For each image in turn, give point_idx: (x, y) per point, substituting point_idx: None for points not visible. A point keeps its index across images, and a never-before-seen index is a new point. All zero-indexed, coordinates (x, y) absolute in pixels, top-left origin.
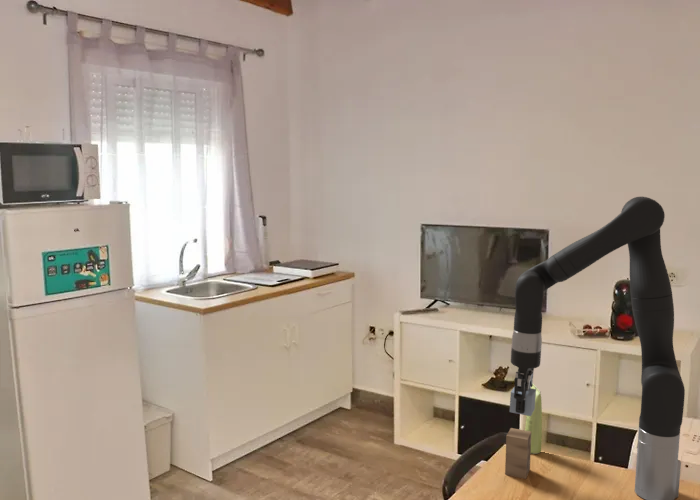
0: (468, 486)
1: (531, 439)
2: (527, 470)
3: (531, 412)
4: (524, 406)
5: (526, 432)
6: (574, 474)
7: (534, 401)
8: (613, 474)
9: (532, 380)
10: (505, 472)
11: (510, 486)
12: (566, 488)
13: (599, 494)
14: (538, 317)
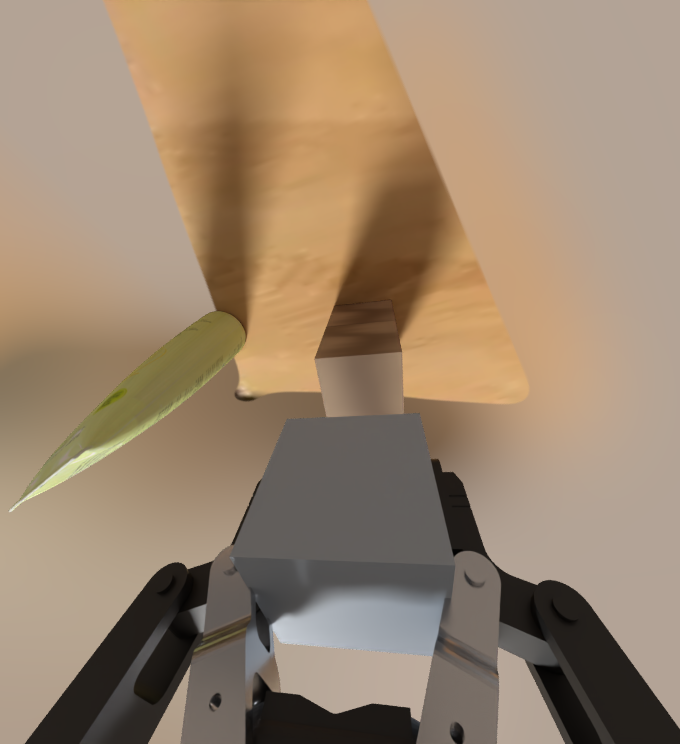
0: (492, 400)
1: (227, 347)
2: (371, 306)
3: (401, 426)
4: (446, 496)
5: (333, 372)
6: (278, 171)
7: (297, 463)
8: (174, 9)
9: (196, 705)
10: None
11: (452, 321)
12: (389, 165)
13: (372, 12)
14: None
